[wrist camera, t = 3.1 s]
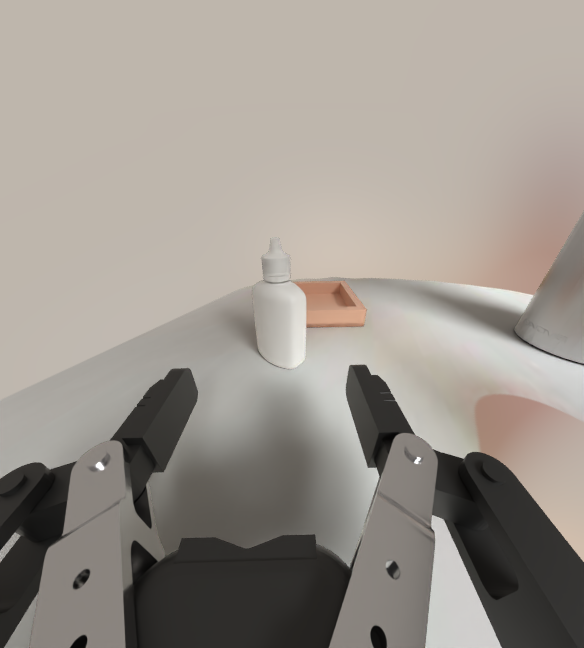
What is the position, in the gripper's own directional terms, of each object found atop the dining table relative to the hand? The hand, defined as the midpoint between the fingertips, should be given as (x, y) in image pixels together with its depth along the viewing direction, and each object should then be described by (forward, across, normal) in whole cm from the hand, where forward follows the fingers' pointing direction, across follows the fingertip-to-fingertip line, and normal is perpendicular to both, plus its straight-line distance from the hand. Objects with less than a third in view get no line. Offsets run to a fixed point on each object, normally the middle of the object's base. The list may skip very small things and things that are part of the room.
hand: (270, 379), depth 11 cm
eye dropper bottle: (+10, 0, +7) cm, 12 cm away
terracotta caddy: (+22, -5, +6) cm, 24 cm away
